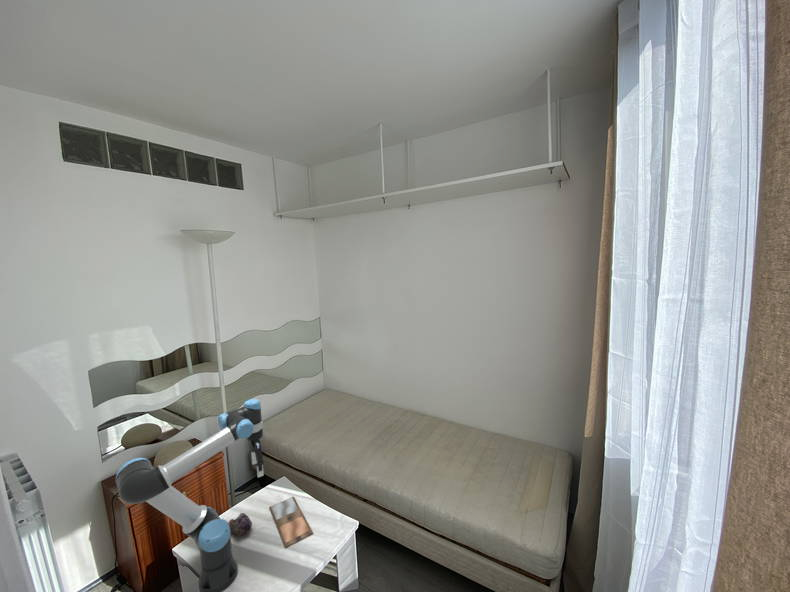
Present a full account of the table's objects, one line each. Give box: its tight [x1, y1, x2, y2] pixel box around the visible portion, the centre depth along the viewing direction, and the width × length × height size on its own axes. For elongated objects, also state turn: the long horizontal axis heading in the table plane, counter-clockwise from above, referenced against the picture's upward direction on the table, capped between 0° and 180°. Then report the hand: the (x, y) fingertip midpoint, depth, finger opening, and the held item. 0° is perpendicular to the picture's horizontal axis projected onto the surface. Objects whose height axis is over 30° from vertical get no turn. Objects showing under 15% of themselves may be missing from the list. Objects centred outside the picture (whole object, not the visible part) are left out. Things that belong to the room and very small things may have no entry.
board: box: [268, 496, 314, 549], centre depth 172 cm, size 14×33×1 cm, turn 34°
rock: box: [228, 512, 253, 537], centre depth 165 cm, size 12×8×10 cm
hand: (257, 469), depth 165 cm, fingers open, 13 cm apart
